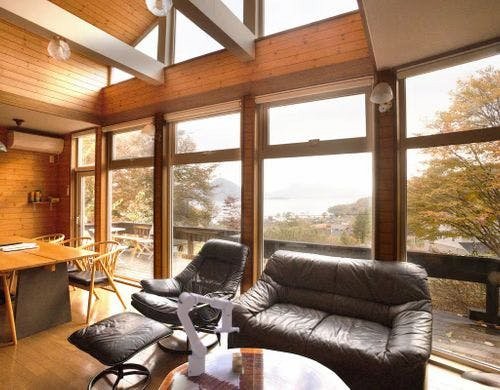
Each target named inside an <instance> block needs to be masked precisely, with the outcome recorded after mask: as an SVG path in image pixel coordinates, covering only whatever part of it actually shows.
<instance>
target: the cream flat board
mask: <svg viewBox="0 0 500 390" xmlns="http://www.w3.org/2000/svg"><path fill="white" fill-rule="evenodd" d="M229 369H230V374H231V375H240V374H241V375H242V374H245V371H244V367H243V366H242V372H241V373H233V370H232V367H230V368H229Z"/></svg>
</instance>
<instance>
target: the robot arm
mask: <svg viewBox="0 0 500 390" xmlns="http://www.w3.org/2000/svg"><path fill="white" fill-rule="evenodd" d="M198 303H201V304H207V305H210V307H211V308H214V309H218V310H221V327H219V328H213V335H215V336H216V338H217V340H218V346H219V347H221V346H222V345H221V336H222V335H221V334H222V333H223V334H224V333H225V334H228V333H231V335H232V339H231V344H232V346H234V345H235V341H236V338H237V336H238V333H240V328H239V327H234V326H232V322H233V321H232V317H233V315H232V314H233V312H232V311H233V310H234V307H235V305H233V302H232V301H230V300H229V299H226V298H220V296H218V295H216V296H212V298H211V297H207V296H204V295H201V294H197V293H193V292H187V291H183V292H181V293H180V295H179V297H178V298H177V310H176V313H177V316H178V318H179V322H180V323H181V326H183V329H184V331H185V333H186V335H187V338H188V340H189V343H190V350H191V351H192V353H191V355H188V361H187V363H188V364H187V365H188V366H187V371H188V372H187V376H188V377H193V376H194V377H196V376H198V377H199V376H201V374H204V373H205V372H206V355H207V353H208V348H207V346H206V345H204V344H203V342H202V340H201V339H200V337H199V335H198V332H197V331H196V328H195V327H194V325H193V323H192V320H191V318H190V316H189V312H190V311H191V310H192V308H193V307H194V305H197V304H198Z"/></svg>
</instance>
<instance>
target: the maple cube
mask: <svg viewBox="0 0 500 390" xmlns="http://www.w3.org/2000/svg"><path fill="white" fill-rule="evenodd" d="M232 361H233V365H242V366H243V355H242V353H241V352H232Z"/></svg>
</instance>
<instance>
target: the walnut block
mask: <svg viewBox="0 0 500 390" xmlns="http://www.w3.org/2000/svg"><path fill="white" fill-rule="evenodd" d="M242 367H243V364H242V365H233V360H232V362H231V368H232V370H233V373H241V372H242Z"/></svg>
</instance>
